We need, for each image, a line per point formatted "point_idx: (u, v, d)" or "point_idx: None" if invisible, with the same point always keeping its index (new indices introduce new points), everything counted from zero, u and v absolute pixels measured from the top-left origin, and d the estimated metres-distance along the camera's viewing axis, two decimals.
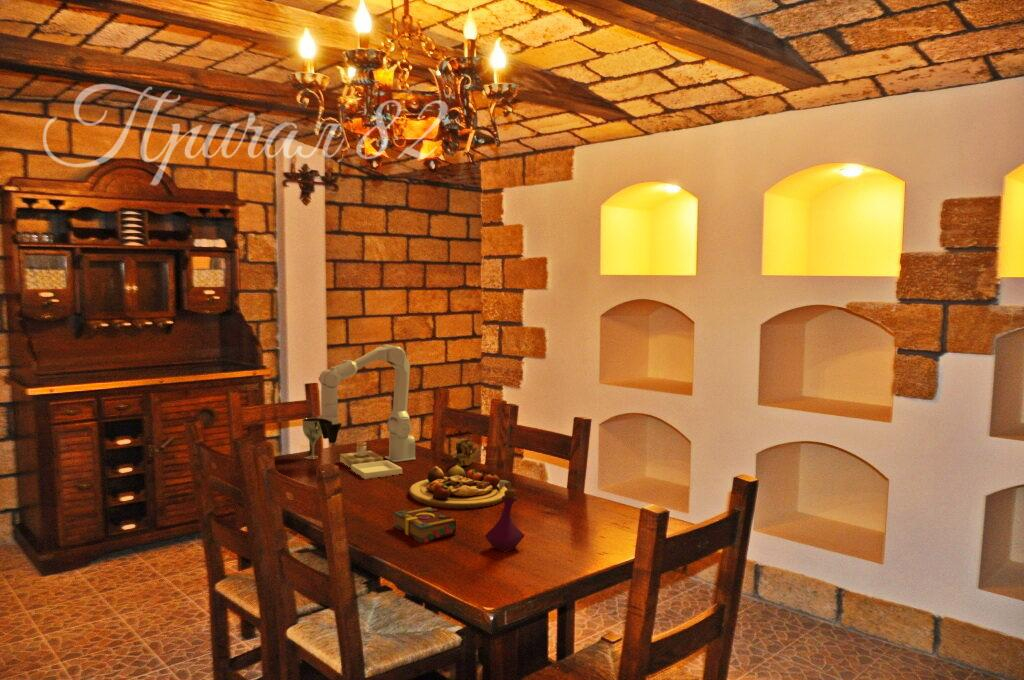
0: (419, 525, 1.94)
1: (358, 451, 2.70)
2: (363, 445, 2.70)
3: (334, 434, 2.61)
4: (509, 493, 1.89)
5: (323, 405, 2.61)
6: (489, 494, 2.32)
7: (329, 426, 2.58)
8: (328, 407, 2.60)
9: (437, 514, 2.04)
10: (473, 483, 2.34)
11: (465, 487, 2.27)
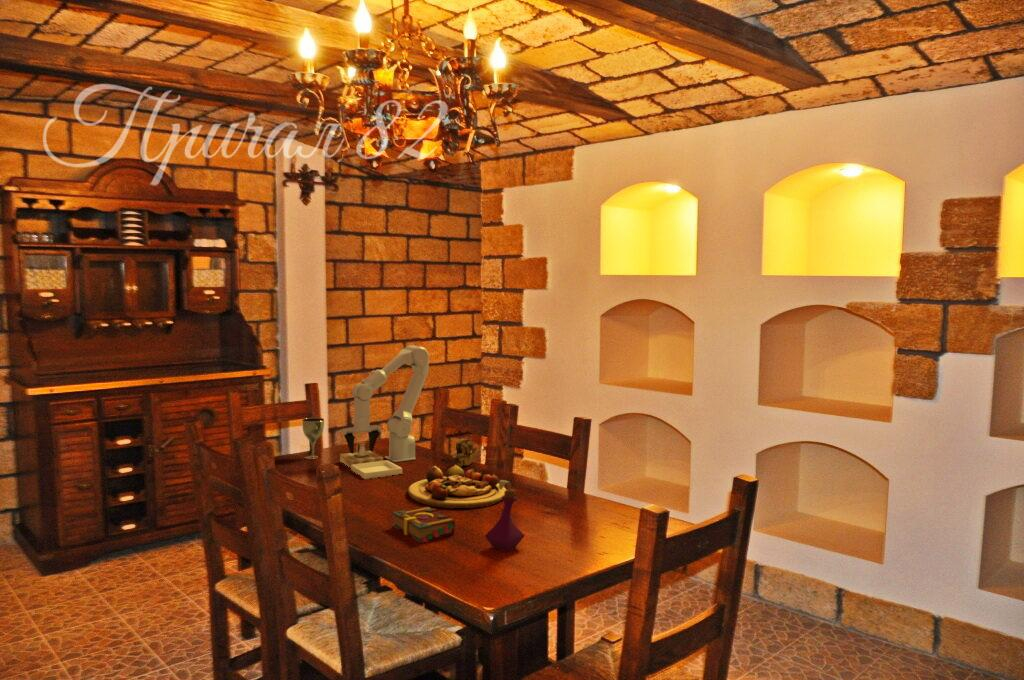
0: (418, 525, 1.94)
1: (358, 451, 2.70)
2: (363, 445, 2.70)
3: (350, 445, 2.68)
4: (509, 493, 1.89)
5: None
6: (488, 494, 2.32)
7: (344, 435, 2.69)
8: (354, 418, 2.70)
9: (436, 513, 2.04)
10: (472, 483, 2.35)
11: (463, 487, 2.28)
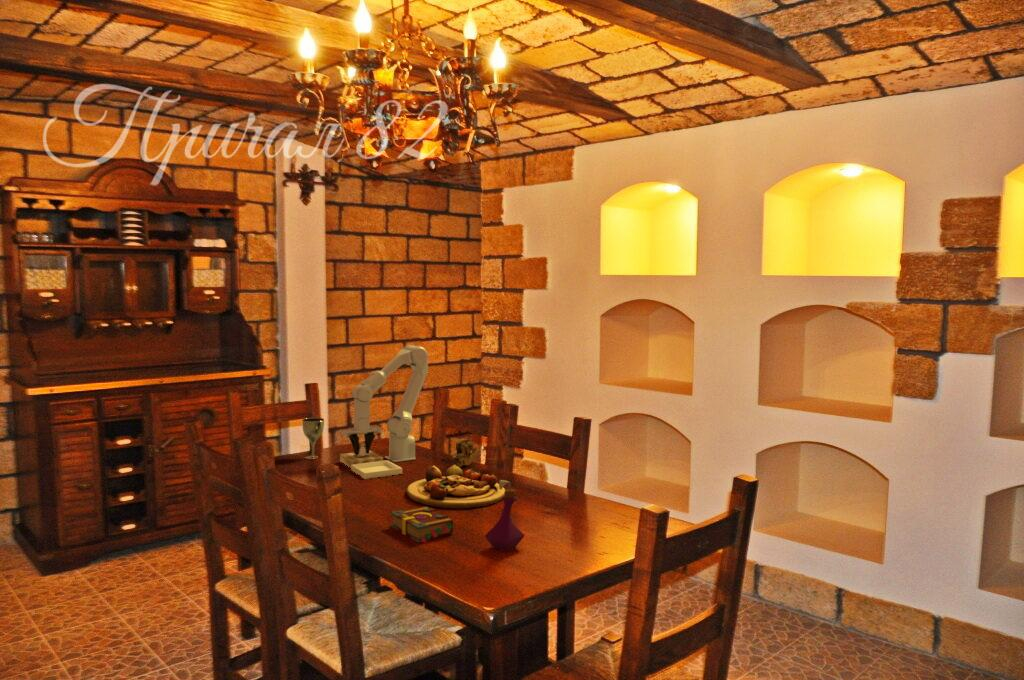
0: (416, 525, 1.94)
1: (358, 451, 2.70)
2: (363, 445, 2.70)
3: None
4: (509, 493, 1.89)
5: None
6: (486, 494, 2.32)
7: (349, 436, 2.70)
8: (354, 420, 2.70)
9: (434, 513, 2.04)
10: (470, 483, 2.35)
11: (462, 487, 2.28)
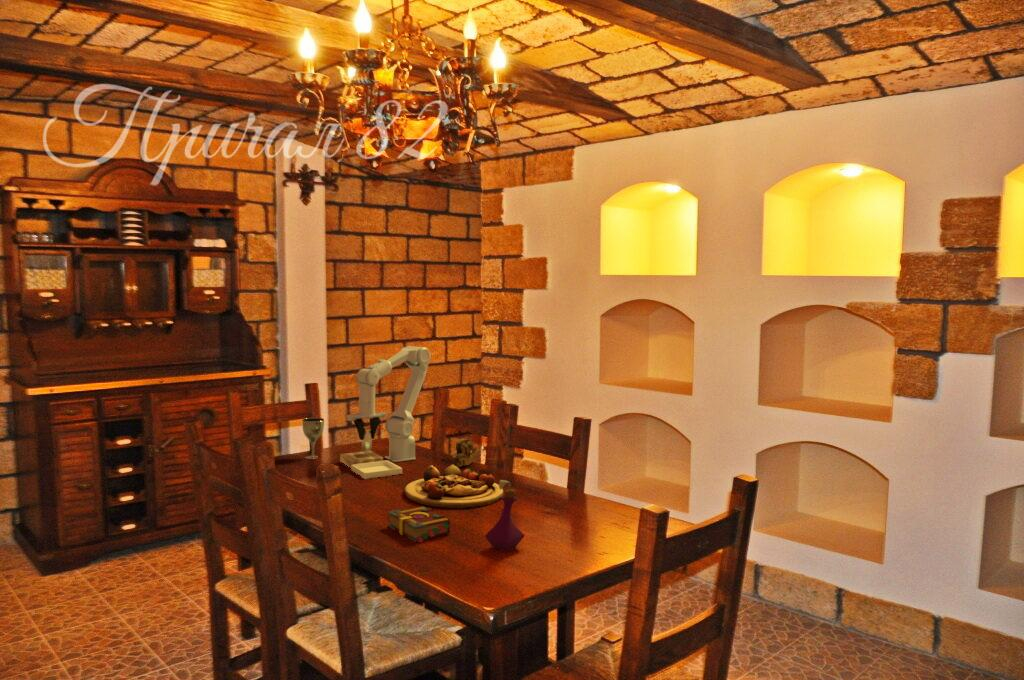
0: (413, 524, 1.94)
1: (363, 436, 2.65)
2: (368, 430, 2.65)
3: None
4: (509, 493, 1.89)
5: None
6: (484, 493, 2.32)
7: (354, 421, 2.65)
8: (359, 404, 2.65)
9: (431, 513, 2.04)
10: (468, 482, 2.35)
11: (459, 486, 2.28)
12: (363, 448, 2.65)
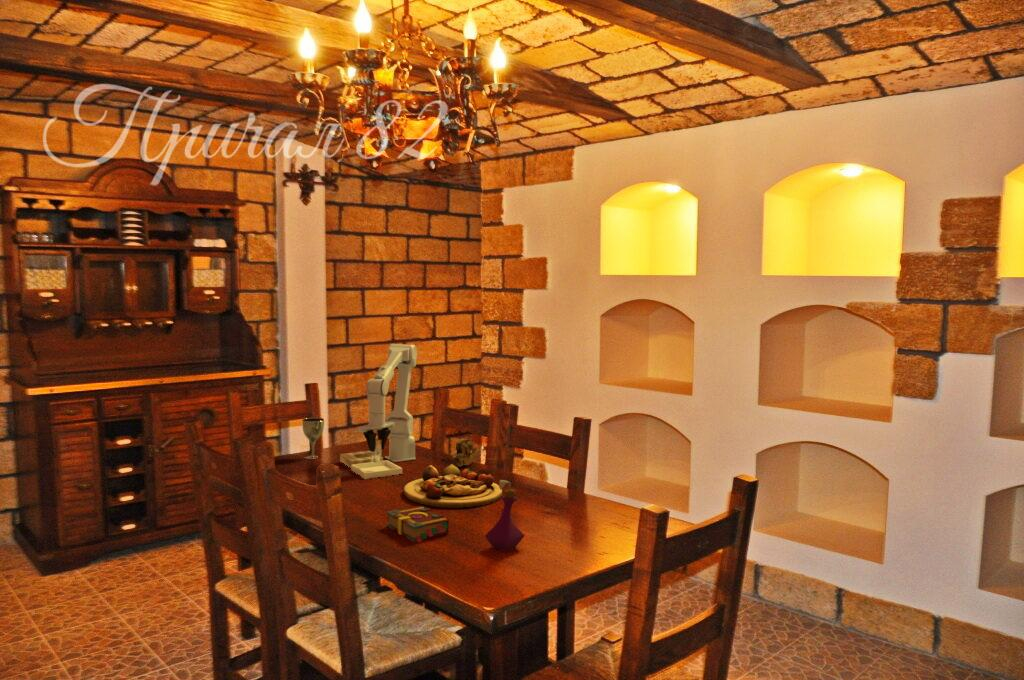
0: (412, 524, 1.94)
1: None
2: (379, 441, 2.58)
3: (371, 443, 2.57)
4: (509, 493, 1.89)
5: None
6: (483, 493, 2.32)
7: (363, 433, 2.57)
8: (369, 415, 2.57)
9: (430, 513, 2.04)
10: (467, 482, 2.35)
11: (458, 486, 2.28)
12: (374, 460, 2.58)
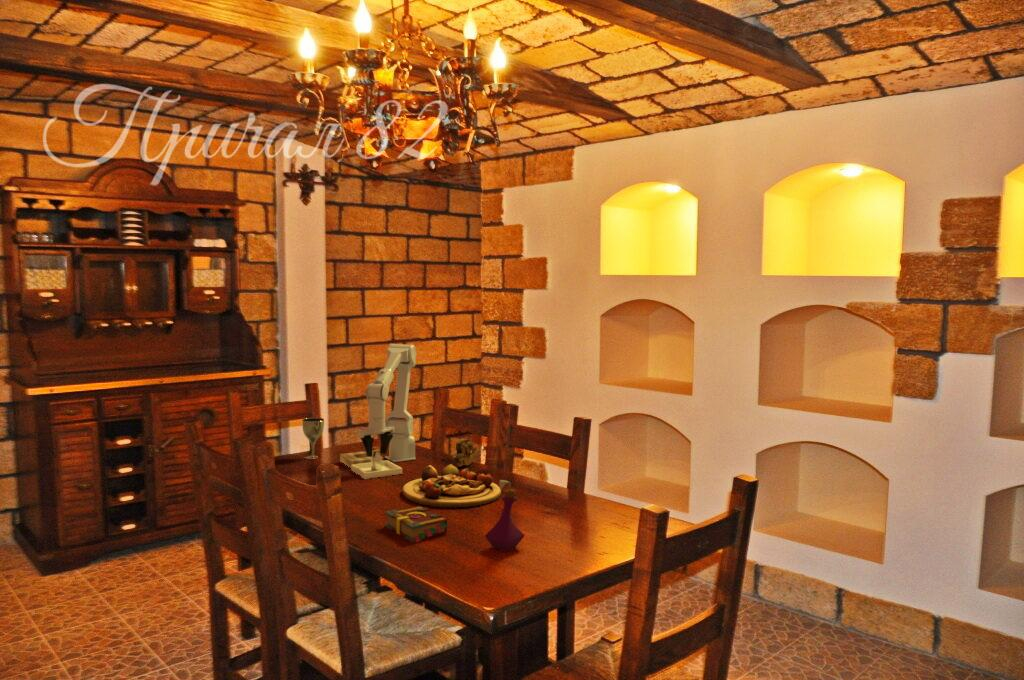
0: (410, 524, 1.94)
1: (373, 456, 2.59)
2: (378, 449, 2.59)
3: (369, 448, 2.56)
4: (509, 493, 1.89)
5: None
6: (481, 493, 2.32)
7: (361, 438, 2.56)
8: (369, 420, 2.58)
9: (428, 513, 2.04)
10: (466, 482, 2.35)
11: (457, 486, 2.28)
12: (374, 469, 2.59)
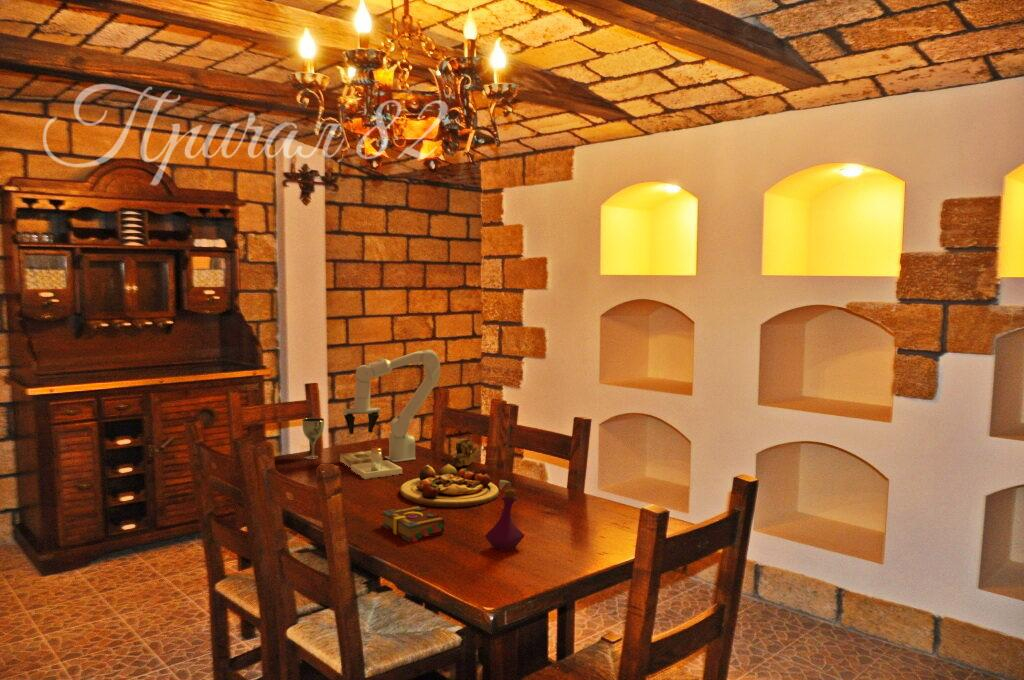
0: (407, 524, 1.94)
1: (374, 458, 2.58)
2: (379, 451, 2.58)
3: (350, 426, 2.73)
4: (509, 493, 1.89)
5: None
6: (479, 493, 2.33)
7: (344, 416, 2.74)
8: None
9: (425, 513, 2.05)
10: (463, 482, 2.35)
11: (454, 486, 2.29)
12: (374, 470, 2.58)
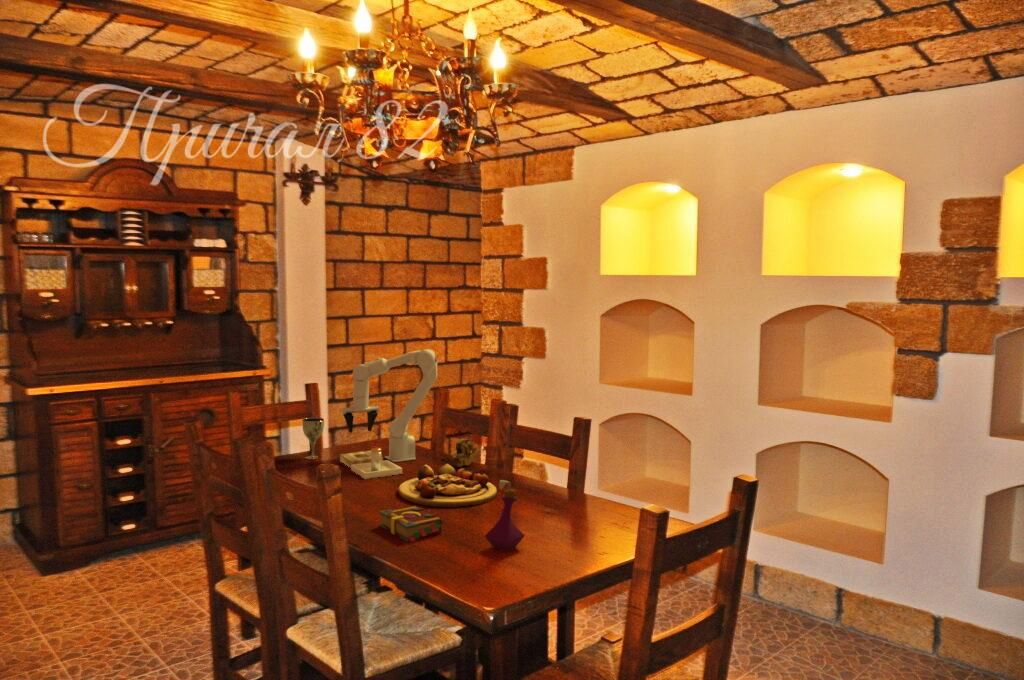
0: (405, 524, 1.94)
1: (374, 458, 2.58)
2: (379, 451, 2.58)
3: (350, 424, 2.76)
4: (509, 493, 1.89)
5: None
6: (477, 493, 2.33)
7: None
8: (353, 398, 2.78)
9: (423, 512, 2.05)
10: (461, 482, 2.36)
11: (452, 485, 2.29)
12: (374, 470, 2.58)
